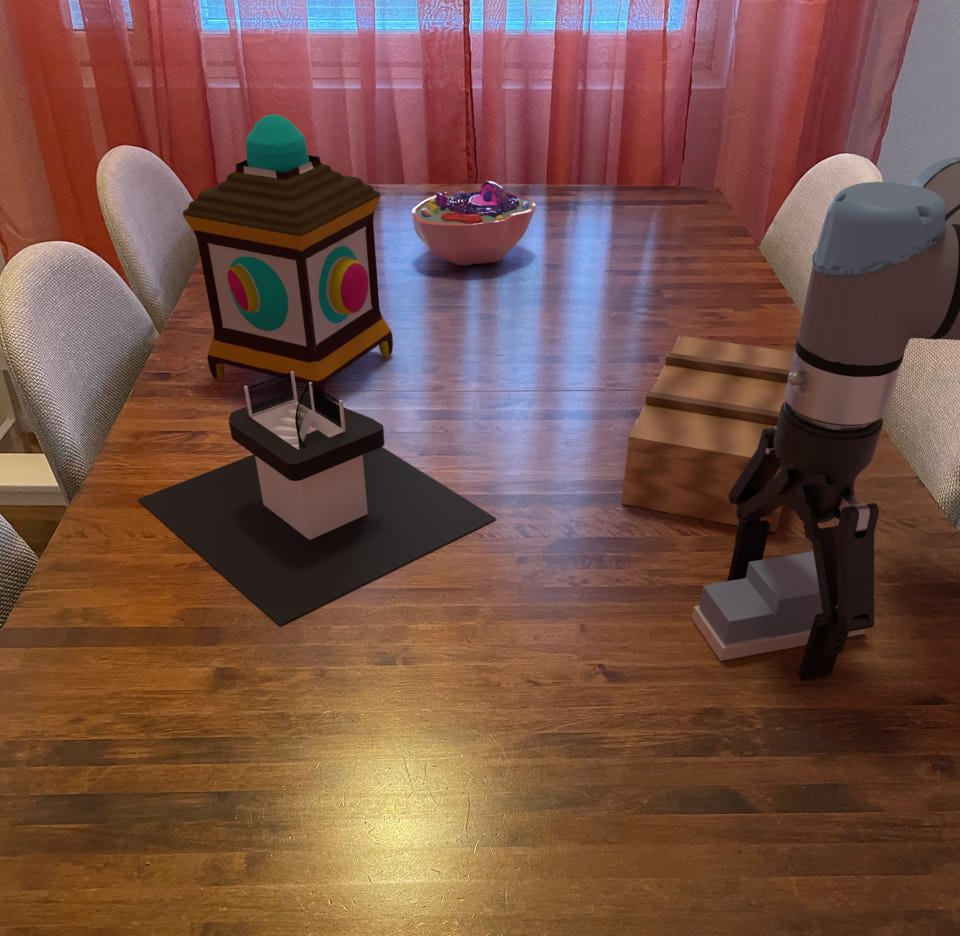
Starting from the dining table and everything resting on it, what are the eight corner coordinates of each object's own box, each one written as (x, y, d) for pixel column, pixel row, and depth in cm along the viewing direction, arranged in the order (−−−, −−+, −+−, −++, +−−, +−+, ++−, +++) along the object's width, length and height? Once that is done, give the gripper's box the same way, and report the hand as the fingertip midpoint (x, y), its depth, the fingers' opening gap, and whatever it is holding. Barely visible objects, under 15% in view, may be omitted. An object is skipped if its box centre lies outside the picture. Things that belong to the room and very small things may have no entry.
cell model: (395, 253, 161) (391, 180, 154) (501, 234, 168) (502, 163, 161) (441, 288, 150) (439, 210, 142) (553, 265, 157) (556, 190, 149)
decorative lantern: (408, 353, 132) (395, 104, 112) (325, 416, 118) (293, 146, 99) (286, 326, 139) (254, 87, 119) (195, 382, 125) (141, 124, 106)
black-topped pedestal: (496, 519, 101) (498, 401, 93) (280, 626, 88) (258, 500, 79) (340, 421, 117) (329, 313, 109) (137, 500, 104) (106, 383, 95)
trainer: (829, 594, 92) (844, 544, 88) (864, 634, 87) (881, 583, 83) (691, 618, 89) (700, 568, 85) (720, 661, 84) (731, 610, 81)
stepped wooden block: (803, 418, 118) (819, 346, 112) (775, 533, 99) (793, 454, 93) (671, 397, 122) (680, 327, 116) (621, 504, 103) (629, 427, 98)
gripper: (715, 346, 82) (680, 553, 96) (881, 501, 64) (808, 729, 78) (796, 337, 84) (750, 542, 98) (980, 485, 66) (891, 712, 79)
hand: (776, 625), depth 88 cm, fingers open, 13 cm apart
